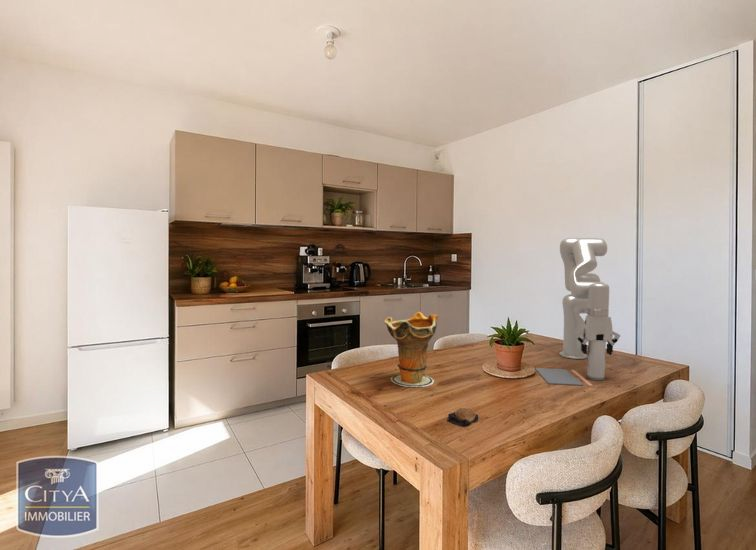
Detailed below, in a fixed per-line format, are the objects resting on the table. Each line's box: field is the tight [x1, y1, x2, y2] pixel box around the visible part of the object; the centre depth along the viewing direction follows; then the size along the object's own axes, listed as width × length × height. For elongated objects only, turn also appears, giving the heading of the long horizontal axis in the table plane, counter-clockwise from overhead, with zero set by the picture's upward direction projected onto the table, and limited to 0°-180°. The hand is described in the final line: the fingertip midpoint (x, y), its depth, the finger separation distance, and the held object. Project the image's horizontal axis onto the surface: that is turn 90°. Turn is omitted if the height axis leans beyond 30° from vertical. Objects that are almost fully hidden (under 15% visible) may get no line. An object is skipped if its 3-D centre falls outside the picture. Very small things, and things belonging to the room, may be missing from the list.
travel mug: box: [586, 334, 607, 381], centre depth 160 cm, size 6×7×20 cm
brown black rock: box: [446, 407, 481, 428], centre depth 121 cm, size 11×8×4 cm
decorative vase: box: [383, 311, 439, 388], centre depth 157 cm, size 21×23×28 cm
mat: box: [534, 367, 584, 387], centre depth 162 cm, size 20×13×1 cm, turn 172°
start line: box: [570, 369, 594, 387], centre depth 161 cm, size 20×2×1 cm, turn 172°
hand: (596, 353), depth 160 cm, fingers open, 9 cm apart
